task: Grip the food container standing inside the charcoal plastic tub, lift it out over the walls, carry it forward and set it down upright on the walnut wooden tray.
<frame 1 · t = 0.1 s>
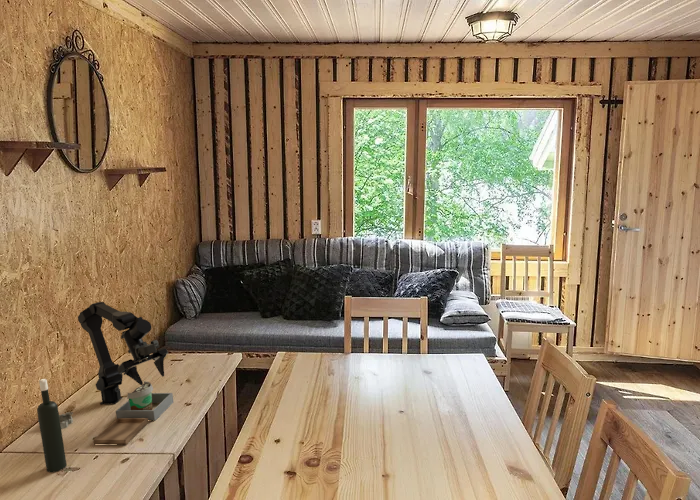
hand: (153, 380, 210), 15 cm above the table, tool tilted 30°, fingers open, 9 cm apart
wine bottle: (56, 468, 180), on the table
tub: (146, 411, 219), on the table
food container: (146, 411, 219), resting in tub
egg carton: (57, 426, 212), on the table
tray: (122, 433, 201), on the table
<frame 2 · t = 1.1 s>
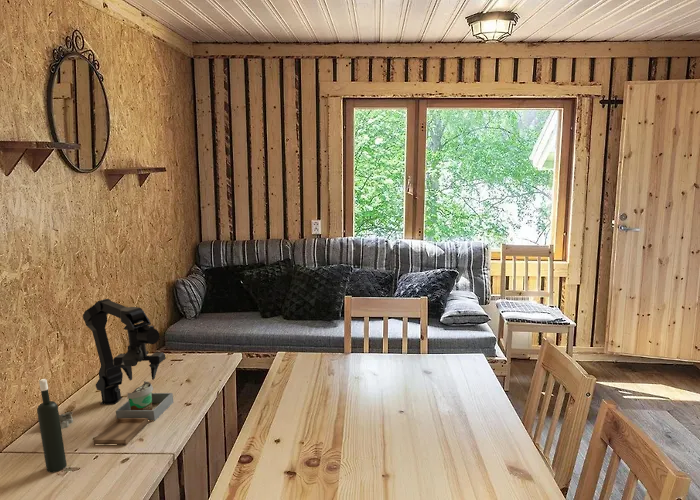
hand: (142, 379, 217), 13 cm above the table, tool pointing down, fingers open, 9 cm apart
nothing on the table moved.
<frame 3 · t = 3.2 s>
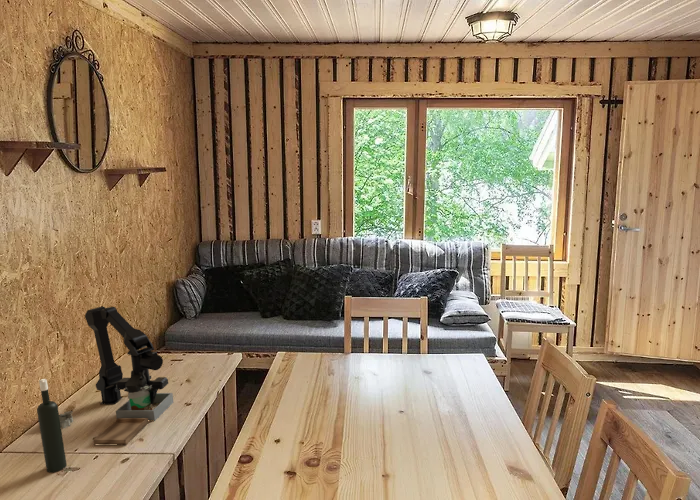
hand: (145, 404, 218), 3 cm above the table, tool pointing down, fingers closed on food container, 6 cm apart
food container: (146, 411, 219), resting in tub, touching gripper
everything else where it was.
when the fingers open (6 cm above the table, at t = 8.3 s): food container stays where it is, resting on tray.
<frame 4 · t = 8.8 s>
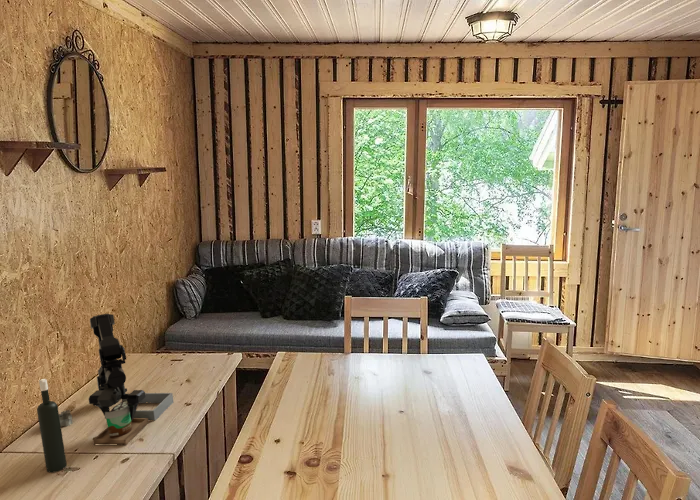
hand: (120, 419, 200), 6 cm above the table, tool pointing down, fingers open, 9 cm apart
food container: (125, 432, 201), point 1 cm above the table, touching tray
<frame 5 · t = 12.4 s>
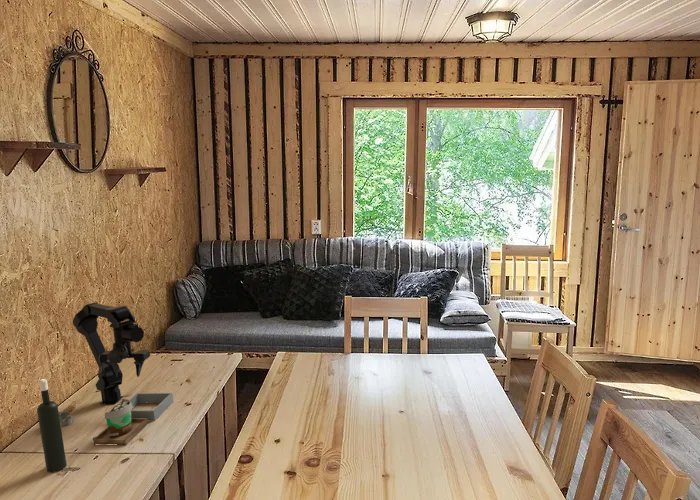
hand: (127, 376, 221), 13 cm above the table, tool pointing down, fingers open, 9 cm apart
at the end: food container 1.2 cm off-centre on the tray, point 0.6 cm above the tray's base; food container tilted 0°; the gripper is holding nothing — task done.
